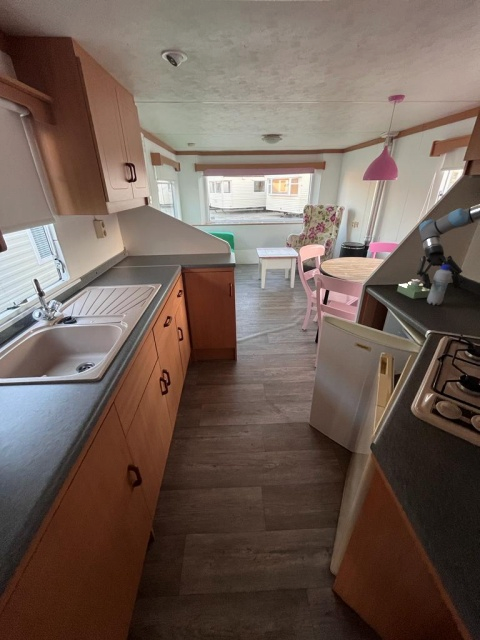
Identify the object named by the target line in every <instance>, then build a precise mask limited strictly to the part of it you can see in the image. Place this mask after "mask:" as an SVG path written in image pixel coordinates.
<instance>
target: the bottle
mask: <svg viewBox="0 0 480 640" xmlns="http://www.w3.org/2000/svg"><path fill="white" fill-rule="evenodd" d="M449 269H450V266H449V265H442V266H440V269H437V270H436V271H435V273H434V275H433V278H432V280H433V281H432V284H431V286H430V293H429V295H428V297H426V303H428V305H432V306H435V305H436V306H440V305H441V304H442V303H443V301H444V297H445V293H446V291H447V288H448V285H449V283H450V282H451V280H452V272H450V271H449Z"/></svg>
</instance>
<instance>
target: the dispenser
mask: <svg viewBox="0 0 480 640" xmlns="http://www.w3.org/2000/svg"><path fill="white" fill-rule="evenodd" d="M411 282H412V281H408V282H407V283H401V284H400V283H399V284H398V286H397V289H396V292H398V293H399V294H401V295H404V296H406V297H408V298H411V299H412V300H414V299H424V298H426V299H427V298H428V295H429V293H430V290H431V288H426V286H425V287H424V284H423V283H422V282H420V285H413V284H411Z"/></svg>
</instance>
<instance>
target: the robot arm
mask: <svg viewBox="0 0 480 640" xmlns="http://www.w3.org/2000/svg"><path fill="white" fill-rule="evenodd" d="M479 221H480V203H479V204H476V205H473V206H471V207H469V208H466V209H463V208H461V207H460V208H457V209H455V210H452V211H450V212H449V213H447V214H445V215H444V216H442V217H440V218H438V219H437V220H435V219H428V220H424V221H422V222H421V223H420V224H419V226H418V229H419V235H420V239H421V243H422V248H423V251H424V255H423V256H422V257H420V259H419V260H420V262H419V264H418V265H419V266H418V268H417V272H416V275H417V276H419V277H420V278H421V279H422V280H421V281H422V282H424V286H425V288H427V289H430V288H431V287H432V284H431V280H430V276H429V273H428V272H429V270H430V269H431V267H441V266H442V265H449V266H450V269H449V271H450V272H452V274H451V280H452V284H453V287H454V289H458V288H459V287H460V286H461V283H460V280H461V278H460V275H461V273H463V270H462V269H461V268H460V266H459V265H458V264H457V262H455V261H454V259H453V257H452V256H451V255H449V256H445V250H444V248H443V243H442V240H441V235H444V234H445V233H447V232H449V231H451V230H454V229H458V228H462V227H466V226H468V225H471V224H474V223H476V222H479ZM426 262H427V264H426ZM425 265H426V266H425Z"/></svg>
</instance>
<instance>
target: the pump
mask: <svg viewBox="0 0 480 640" xmlns="http://www.w3.org/2000/svg"><path fill="white" fill-rule="evenodd" d="M410 282H411V284H413V285H420V283H422V280H420V279H416V278H413V279H411V281H410Z"/></svg>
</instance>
